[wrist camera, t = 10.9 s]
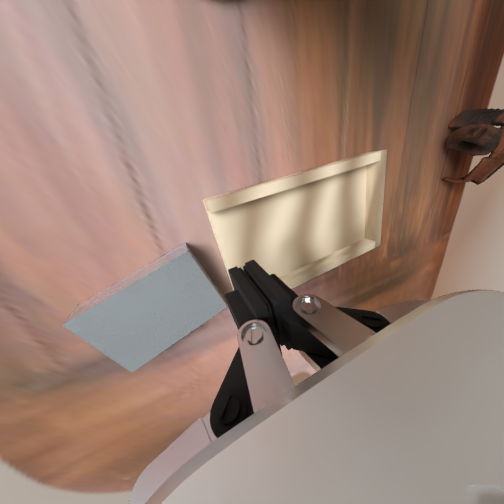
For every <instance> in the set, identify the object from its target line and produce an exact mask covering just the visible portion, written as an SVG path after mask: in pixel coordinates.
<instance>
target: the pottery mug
mask: <svg viewBox="0 0 504 504" xmlns="http://www.w3.org/2000/svg"><path fill="white" fill-rule="evenodd" d="M492 125H493V126H492ZM494 125H496V126H501V127H500V128H495V127H494ZM448 128H459V129H457V130H456V131H454V132H453V133H452V134H451V135H449V137H448V139H447V143H446V148H451V149H454V150H461V151H462V152H464V153H468V154H470V155H473V156H475V155H487V154H489V153H490V152H491V154H490V155H489V157H484V158H482V160H481V161H480V163H479V164H478V165H477V166H476V167H475V168H474V169H473V170H472V171H471V172H470V173H469V174H468V175H466V176H465V177H463V178H460V179H452V178H448V177H445V178H443V180H444V181H448V182H453V183H464V182H469V181H471V182H474V183H476V184H477V185H478V184H480V183H482V182H484V181H485V180H486V179H488V178H489V177H490V176H491V175H492V174H494V173H495V172H496V171H497V170H498V169H500V168H501V167H502V166H503V165H504V109H503V110H500V109H496V110H495V109H480V110H467V111H464V112H463V113H461V114H460V115H459V116H457V117H456V118H455V119H454V120H453V121H452V122H451V123H450V125H449V126H448Z"/></svg>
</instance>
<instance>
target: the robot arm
mask: <svg viewBox="0 0 504 504" xmlns="http://www.w3.org/2000/svg"><path fill="white" fill-rule="evenodd" d="M243 270H244V271H243ZM228 272H229V275H230V278H231V282H232V285H233V288H234V291H232V292H230V293H228V294H225V298H226V301H227V304H228V307H229V309H230V312H231V314H232V316H233V319H234V321H235V323H236V325H237V328H238V330H239V331H238V334H237V337H238V343H239V348H238V350H237V352H236V354H235V357H234V359H233V361H232V363H231V365H230V368H229V370H228V372H227V374H226V376H225V378H224V381H223V383H222V385H221V387H220V389H219V392H218V394H217V396H216V398H215V400H214V403H213V405H212V408H211V411H210V412H209V413H208V414H207V415H206V416H205V417H204V418H203V419H202V418H201V417H200V418H199V419H198V420H197V421H196V422H194V423H193V424H192V425H191V426H190V427H189V428H188V429H187V430H186V431H185V432H184V433H183V434H182V435H180V436H179V437H178V438H177V439H176V440H175V441H174V442H173V443H172V444H171V445H170V446H169V447H168V448H167V449H165V450H164V451H163V452H162V453H161V454H160V455H159V456H158V457H157V458H156V459H155V460H154V461H153V462H151V463H150V464H149V465H148V466H147V468H146V469H145V470H144V471H143V472H142V473H141V475H140V476H139V478H138V480H137V482H136V484H135V485H134V487H133V491H132V494H131V497H130V500H129V504H504V292H500V291H494V290H468V291H461V292H455V293H451V294H447V295H443V296H440V297H437V298H435V299H432V300H430V301H428V302H427V301H424V300H410V301H406V302H403V303H400V304H396V305H393V306H389V307H386V308H382V309H379V310H377V313H375V312H372V311H366V310H357V309H349V308H341V307H334V306H332V305H331V304H329V303H327V302H326V301H324V300H323V299H321V298H319V297H317V296H315V295H311V294H304V295H300V296H298V295H297V294H296V293H295V292H294V291H292V290H291V289H290V288H289V287H288V286H287V285H286V284H285V283H284V282H283V281H282V280H281V279H280V278H279V277H277V276H276V275H275V274H271V275H269V274H268V273H267V272H266V271H265V270H264V269H263V268H262V267H261V266H260V265H259V264H258V263H257V262H256V261H255V260H251V261H248V262H246V263H245V266H243V269H242V268H241V267H240V268H238V267H237V266H236V267H233V268H231V269H228ZM280 345H281V346H283V345H285V346H286V348H287V349H288V350H290V349H291V348H293V349H295V350H299V352H300V354H301V355H302V356H303V357H304V358H305V359H306V361H307V362H308V363H309V364H310V365H311V366H312V367H313V368H314V369H315V370H316V371H317V372H316V373H315V374H313V375H312V376H310V377H308V378H307V379H305V380H304V381H302V382H301V383H299V384H298V385H296V386H295V384H294V383H293V380H292V377H291V375H290V373H289V371H288V368H287V366H286V364H285V361H284V359H283V357H282V352H281V348H280Z"/></svg>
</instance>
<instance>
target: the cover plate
mask: <svg viewBox="0 0 504 504" xmlns="http://www.w3.org/2000/svg"><path fill="white" fill-rule="evenodd" d="M226 307H227V305H226V303H225V301H224V299H223V297H222V294H221V293H220V291H219V290H218V288H217V287H216V286H215V284H214V283H213V281H212V280H211V279H210V277H209V276H208V274H207V273H206V271H205V270H204V269H203V267H202V266H201V264H200V263H199V262H198V260H197V259H196V257H195V256H194V254H193V253H192V252H191V250H190V249H189V247H188V246H187V244H186V243H183V244H182V245H180V246H178V247H176V248H175V249H173V250H171V251H170V252H168V253H166V254H164V255H163V256H161V257H159V258H157V259H156V260H154V261H152V262H151V263H149V264H147V265H145V266H144V267H142V268H140V269H139V270H137V271H135V272H133V273H132V274H130V275H128V276H127V277H125V278H123V279H121V280H120V281H118V282H116V283H115V284H113V285H111V286H109V287H108V288H106V289H104V290H103V291H101V292H99V293H97V294H96V295H94V296H92V297H91V298H89V299H87V300H85V301H84V302H82V303H80V304H78V306H77V307H76V308H75V309H74V311H73V312H72V313H71V315H70V316H69V317H68V319H67V320H66V321H65V322H64V324H63V326H64V327H66V328H67V329H68V330H70V331H71V332H73V333H74V334H76V335H77V336H79V337H80V338H82V339H83V340H85V341H86V342H88V343H89V344H90V345H92V346H93V347H95V348H96V349H98V350H99V351H101V352H102V353H104V354H105V355H107V356H108V357H110V358H111V359H113V360H114V361H115V362H117V363H118V364H120V365H121V366H123V367H124V368H126V369H127V370H129V371H130V372H134V371H135V370H136V369H138V368H139V367H141V366H142V365H144V364H145V363H147V362H148V361H150V360H151V359H152V358H154V357H155V356H157V355H158V354H160V353H161V352H163V351H164V350H165V349H167V348H168V347H170V346H171V345H173V344H174V343H176V342H177V341H179V340H180V339H181V338H183V337H184V336H186V335H187V334H189V333H190V332H192V331H193V330H194V329H196V328H197V327H199V326H200V325H202V324H203V323H205V322H206V321H208V320H209V319H210V318H212V317H213V316H215V315H216V314H218V313H219V312H221V311H222V310H223V309H225V308H226Z"/></svg>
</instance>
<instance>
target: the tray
mask: <svg viewBox="0 0 504 504" xmlns="http://www.w3.org/2000/svg"><path fill="white" fill-rule="evenodd" d="M386 158H387V149H385V150H379V151H374V152H368V153H365V154H361V155H358V156H354V157H351V158H347V159H343V160H340V161H336V162H333V163H329V164H326V165H322V166H319V167H315V168H312V169H308V170H305V171H301V172H298V173H294V174H291V175H287V176H284V177H280V178H277V179H273V180H269V181H266V182H262V183H259V184H255V185H252V186H248V187H245V188H241V189H238V190H234V191H231V192H227V193H224V194H220V195H217V196H213V197H210V198H206V199H203V203H204V206H205V209H206V212H207V215H208V218H209V221H210V224H211V227H212V230H213V233H214V236H215V239H216V242H217V245H218V248H219V251H220V254H221V257H222V260H223V263H224V266H225V269H226V272H227V275H228V278H229V281H230V284H231V287H232V290H233V291H234V288H233V285H232V282H231V278H230V275H229V272H228V269H231V268H233V267H236V266H237V267H238V268H240V267H241V268H242V269H243V266H245V263H246V262H248V261H251V260H255V261H256V262H257V263H258V264H259V265H260V266H261V267H262V268H263V269H264V270H265V271H266V272H267V273H268V274H269V275H271V274H275V275H276V276H277V277H279V278H280V279H281V280H282V281H283V282H284V283H285V284H286V285H287V286H288V287H289V288H290V289H293V288H295V287H297V286H299V285H301V284H303V283H305V282H307V281H309V280H311V279H313V278H315V277H317V276H319V275H321V274H323V273H325V272H327V271H329V270H331V269H333V268H335V267H337V266H339V265H341V264H343V263H345V262H347V261H349V260H351V259H353V258H355V257H357V256H359V255H362V254H364V253H366V252H368V251H370V250H372V249H374V248H376V247H378V246H380V239H381V225H382V212H383V198H384V185H385V171H386ZM243 271H244V270H243Z"/></svg>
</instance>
